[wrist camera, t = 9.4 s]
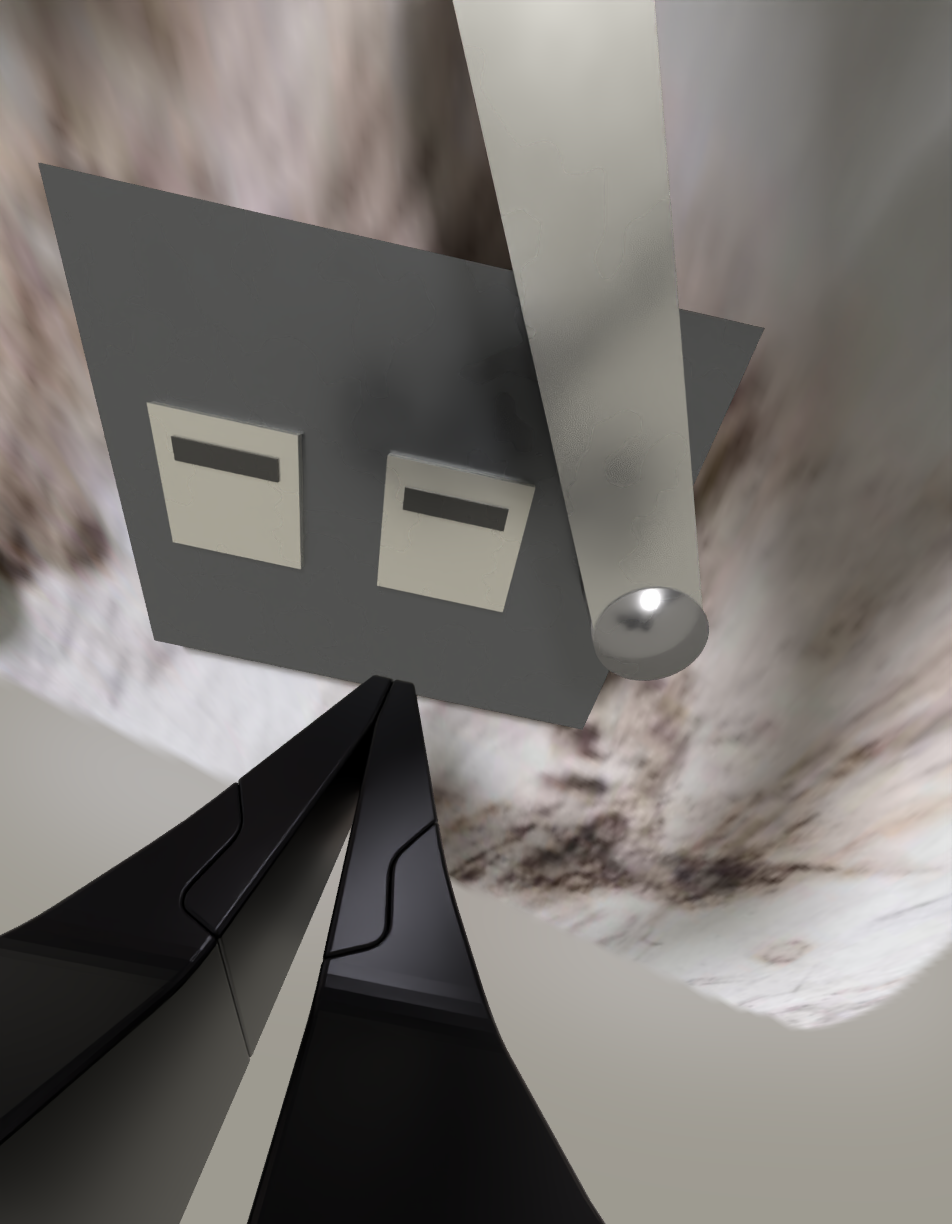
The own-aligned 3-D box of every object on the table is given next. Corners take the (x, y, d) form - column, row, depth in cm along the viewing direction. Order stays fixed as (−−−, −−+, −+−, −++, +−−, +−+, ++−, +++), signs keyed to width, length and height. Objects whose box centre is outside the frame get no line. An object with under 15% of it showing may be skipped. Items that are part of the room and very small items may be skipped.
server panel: (761, 333, 14) (804, 332, 11) (591, 709, 22) (598, 748, 20) (85, 179, 13) (0, 149, 11) (176, 622, 22) (138, 653, 20)
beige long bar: (683, 619, 16) (712, 670, 13) (592, 638, 17) (603, 688, 14) (554, -632, 6) (571, -1262, 4) (345, -448, 7) (247, -870, 4)
